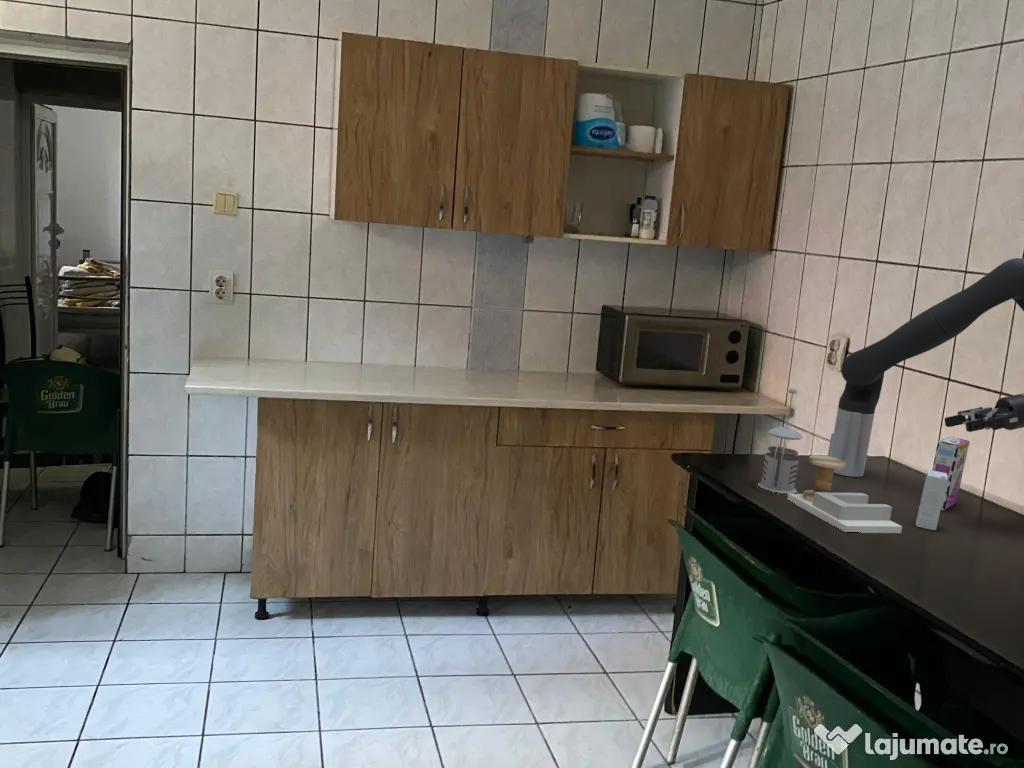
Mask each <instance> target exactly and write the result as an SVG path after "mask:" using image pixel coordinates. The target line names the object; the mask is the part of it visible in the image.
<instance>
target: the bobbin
mask: <svg viewBox="0 0 1024 768" xmlns="http://www.w3.org/2000/svg"><path fill="white" fill-rule="evenodd" d="M808 463H810V464H812V465H814V466H817V470H816V475H815V482H814V488H813V489H807V490H804V491H802V492H803V493H802V494H803V498H804V499H806V500H808V501H811V502H813V497H814V492H831V491H832V486H833V480H834V474H835V473H834V469H844V468H845V466H846V462H845V461H843V460H840V459H837V458H834V457H829V456H828V455H820V454H814V455H813V454H812V455H809V457H808Z"/></svg>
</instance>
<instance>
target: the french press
mask: <svg viewBox="0 0 1024 768" xmlns="http://www.w3.org/2000/svg"><path fill="white" fill-rule="evenodd" d="M788 393H789V394H791V397H790V404H789V409H788V415H787V422H786V426H783V427H782V426H779V427H774V428H772V429H770V430H768V434H769V435H770V436H771V437H774V438H778V439H783V447H782V446H780V441H779V442H777V444H776V445H775V446H772V445H771V446H768V447H767V450H768V451H769V452H765V456H764V459H765V460H766V461H765V460H764V461H763V464H764V465H763V467H762V469H763V470H762V476H761V481H760V482H758V483H757V484H758V486H760V487H761V488H764V489H766V490H770V491H772V492H778V493H782V494H783V493H785V494H786V493H787V494H794V493H797V494H798V491H797V489H796V488H795V485H796V479H797V478H796V476H797V473H798V472H797V471H798V466H799V458H798V457H797V456H798V455H799V452H798V451H797V450H794V449H792V448H787V443H786V440H789V441H790V440H791V441H797V440H802V439H803V438H804V436H803V435H802V434H801V433H800V432H799V431H797V430H796V429H793V428H790V427H789V426H788V425H789V420H790V414H791V408H792V401H793V394H794V395H796V394H797V393H798V391H797V389H796V388H794V387H792V388H791V387H790V388H789V389H788ZM792 472H793V473H792ZM791 482H792V483H791Z"/></svg>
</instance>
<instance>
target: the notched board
mask: <svg viewBox="0 0 1024 768" xmlns="http://www.w3.org/2000/svg"><path fill="white" fill-rule="evenodd" d="M869 497H870V495H868V494H866V493H864V492H837V491H836V492H814V497H813V502H811V501H808V500H806V499H804V498H803V493H797V494H788V495H787V501H788V500H790V501H791V502H790V501H789V502H790V503H792V502H793V504H794V503H795V504H794V505H796V506H797V507H799V508H800V509H803V510H804V511H806V512H808V513H810V514H812V515H813V516H815V517H817V518H818V519H821V520H822V521H823V522H826V523H827V522H828V524H829V525H831V526H833V527H834V526H835V528H836V527H837V528H836V529H838V528H839V529H838V530H840V529H841V530H840V531H841V532H843V531H844V532H843V533H845V532H859V533H858V534H902V532H903V531H902V529H903V526H902V525H900V524H899V523H896V522H895V521H892V520H891V517H892V512H893V511H892V510H893V506H891V505H888V504H885V503H869ZM860 532H861V533H860Z"/></svg>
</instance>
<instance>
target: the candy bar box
mask: <svg viewBox="0 0 1024 768" xmlns="http://www.w3.org/2000/svg"><path fill="white" fill-rule="evenodd" d="M970 443H971V442H970V440H967V439H963V438H959V437H953V436H948V437H945V438H943V439H940V440H938V441H937V446H936V450H935V453H934V460H933V462H932V463H933V464H932V469H931V471H937V472H943V473H947V476H948V477H947V485H946V489H945V493H944V498H943V502H942V506H941V511H943V512H945V511H947V510H948V509H949V508H951V507H953V506H955V505H956V504H957V502H958V496H959V492H960V487H961V482H962V478H963V473H964V469H965V464H966V460H967V455H968V451H969V446H970Z"/></svg>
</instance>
